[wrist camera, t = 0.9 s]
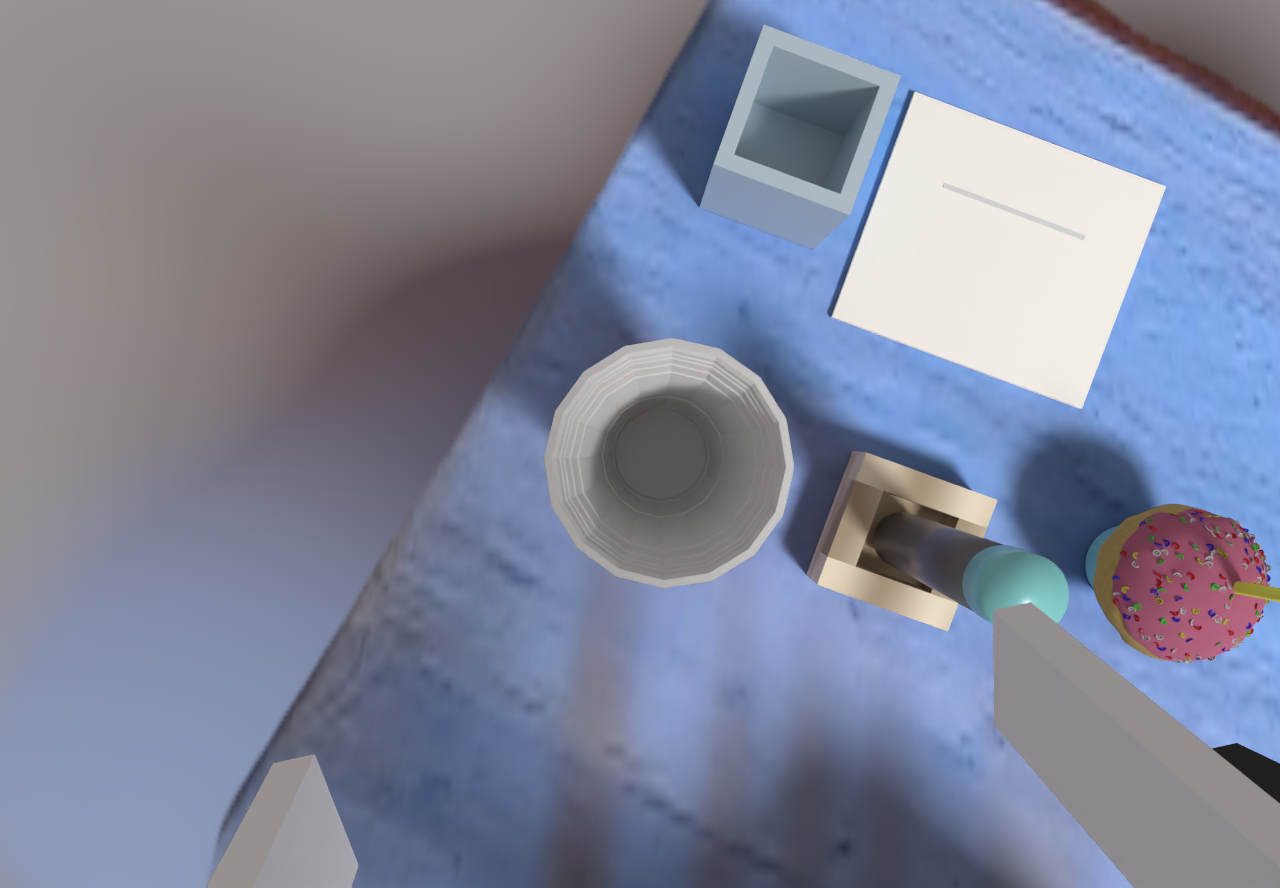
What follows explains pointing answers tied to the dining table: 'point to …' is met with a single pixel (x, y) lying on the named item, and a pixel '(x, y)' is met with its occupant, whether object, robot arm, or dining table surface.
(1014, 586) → the marker
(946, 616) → the marker stand
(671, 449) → the plastic cup
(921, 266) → the paper
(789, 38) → the pen pot
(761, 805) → the dining table surface
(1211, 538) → the cupcake
